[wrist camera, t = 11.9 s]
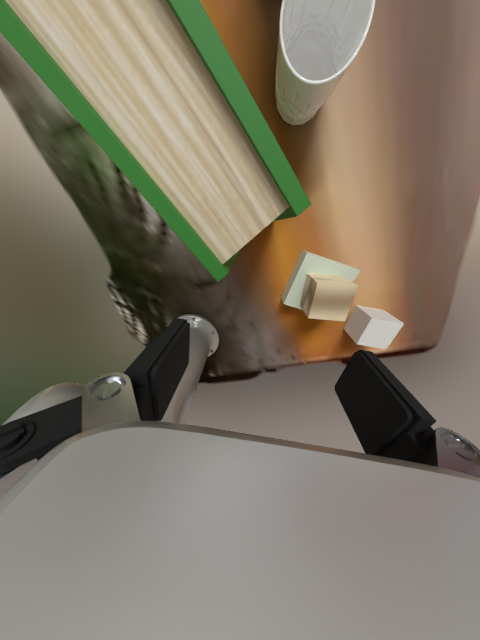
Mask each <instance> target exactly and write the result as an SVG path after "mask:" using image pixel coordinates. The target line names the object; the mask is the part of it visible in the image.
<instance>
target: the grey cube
mask: <svg viewBox="0 0 480 640" xmlns="http://www.w3.org/2000/svg"><path fill="white" fill-rule="evenodd" d="M403 324H404V323H402V322H401V321H399V320H398V319H396V318H395V317H393V316H392V315H390V314H389V313H387V312H386V311H384V310H381V309H375V308H370V307H364V306H359V305H356V306H355V308H354V310H353V312H352V313H351V315H350V317H349V319H348V321H347V323H346V325H345V327H344V330H345V331H346V332H347V334H348V335H349V336H350V337H351V338H352V339H353V341H354V342H355V343H356V344H358V345H364V346H370V347H375V348H381V349H387V347H388V346H389V344H390V343H391V342H392V340H393V339H394V337H395V336H396V334H397V333H398V332H399V330H400V329H401V327H402V326H403Z"/></svg>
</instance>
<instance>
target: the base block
mask: <svg viewBox="0 0 480 640" xmlns="http://www.w3.org/2000/svg"><path fill="white" fill-rule="evenodd" d="M359 272H360V270H358V269H355V268H353V267H351V266H348V265H345V264H342V263H339V262H336V261H333V260H330V259H327V258H325V257H322V256H319V255H316V254H313V253H310V252H307V251H304V250H302V251H301V254H300V256H299V258H298V260H297V263H296V265H295V267H294V269H293V272H292V274H291V276H290V278H289V281H288V283H287V285H286V287H285V290H284V292H283V294H282V296H281V299H282V301H283V304H285V305H288V306H291V307H294V308H298V309H301V310H303V309H302V307H301V305H300V302H301V297H302V293H303V289H304V284H305V280H306V276H307V273H311V274H325V275H339V276H343V277H344V278H346V279H348V280H349V281H351V282H353V281H354V280H355V278H356V277H357V275H358V273H359Z"/></svg>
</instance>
